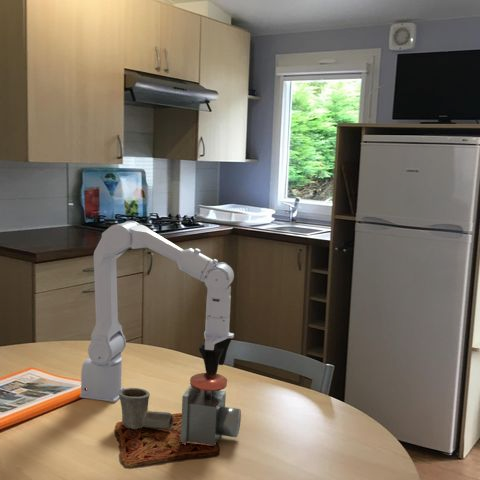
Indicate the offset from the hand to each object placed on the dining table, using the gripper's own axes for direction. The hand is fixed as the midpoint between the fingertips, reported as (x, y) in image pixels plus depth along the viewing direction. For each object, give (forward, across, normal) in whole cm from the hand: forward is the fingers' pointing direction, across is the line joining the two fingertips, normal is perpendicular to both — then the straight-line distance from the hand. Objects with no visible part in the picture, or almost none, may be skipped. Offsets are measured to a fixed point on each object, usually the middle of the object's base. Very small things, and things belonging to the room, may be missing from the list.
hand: (215, 369), depth 149 cm
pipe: (+10, -14, +12) cm, 21 cm away
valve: (+10, -14, -3) cm, 17 cm away
